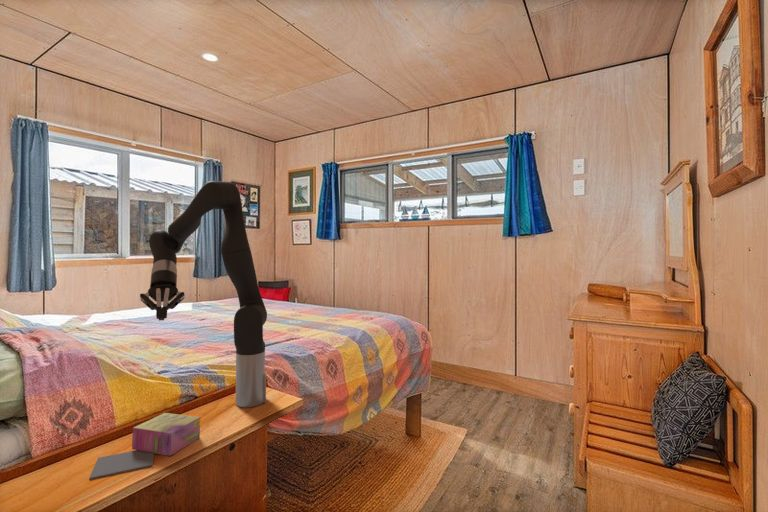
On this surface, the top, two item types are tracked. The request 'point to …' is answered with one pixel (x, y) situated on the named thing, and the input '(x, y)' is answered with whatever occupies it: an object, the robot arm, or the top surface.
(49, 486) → the top surface
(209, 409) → the top surface
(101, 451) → the top surface
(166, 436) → the box
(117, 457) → the mat
